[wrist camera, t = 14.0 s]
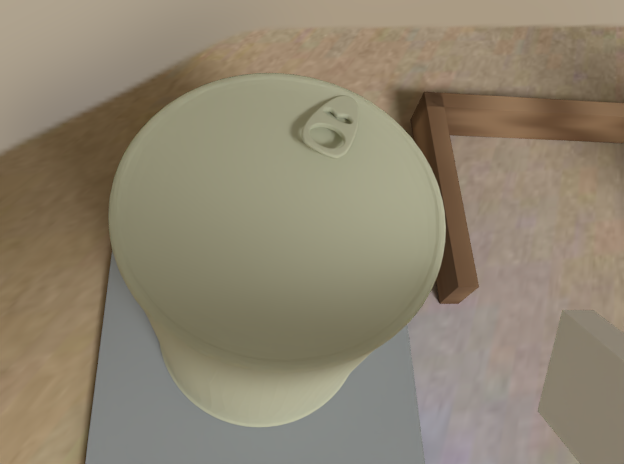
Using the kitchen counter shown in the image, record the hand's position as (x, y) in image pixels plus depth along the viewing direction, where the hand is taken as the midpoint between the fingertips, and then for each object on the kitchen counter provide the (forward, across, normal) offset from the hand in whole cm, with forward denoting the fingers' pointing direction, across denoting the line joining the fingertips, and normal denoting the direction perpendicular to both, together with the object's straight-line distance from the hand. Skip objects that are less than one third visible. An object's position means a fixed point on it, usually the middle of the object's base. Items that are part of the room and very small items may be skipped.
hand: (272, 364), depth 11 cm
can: (+12, 0, -6) cm, 13 cm away
